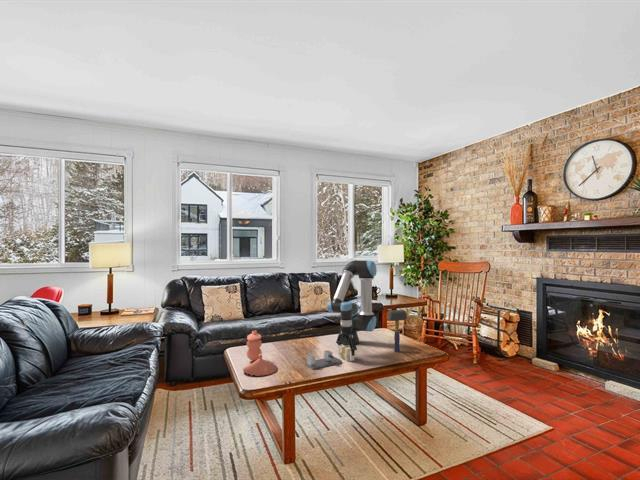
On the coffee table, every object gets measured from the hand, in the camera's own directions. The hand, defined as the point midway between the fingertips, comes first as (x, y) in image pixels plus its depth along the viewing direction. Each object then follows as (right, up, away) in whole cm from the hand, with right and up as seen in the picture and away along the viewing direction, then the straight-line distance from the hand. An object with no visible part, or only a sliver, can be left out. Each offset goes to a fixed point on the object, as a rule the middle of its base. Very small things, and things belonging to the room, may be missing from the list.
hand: (346, 357), depth 233 cm
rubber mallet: (+37, -1, +14) cm, 40 cm away
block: (0, -1, 0) cm, 1 cm away
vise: (-15, -1, -9) cm, 18 cm away
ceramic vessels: (-57, -1, -12) cm, 58 cm away
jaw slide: (-11, +1, -9) cm, 15 cm away
